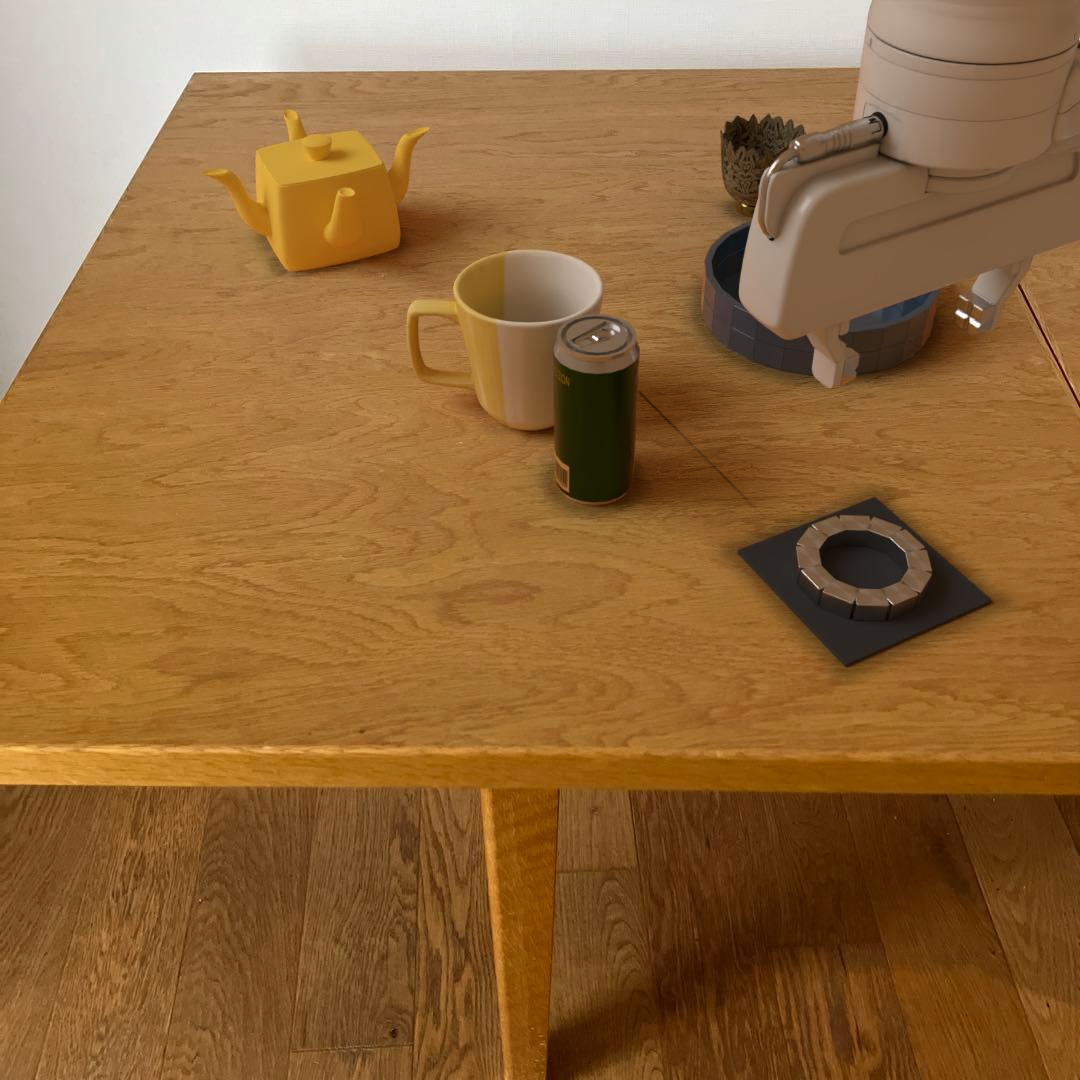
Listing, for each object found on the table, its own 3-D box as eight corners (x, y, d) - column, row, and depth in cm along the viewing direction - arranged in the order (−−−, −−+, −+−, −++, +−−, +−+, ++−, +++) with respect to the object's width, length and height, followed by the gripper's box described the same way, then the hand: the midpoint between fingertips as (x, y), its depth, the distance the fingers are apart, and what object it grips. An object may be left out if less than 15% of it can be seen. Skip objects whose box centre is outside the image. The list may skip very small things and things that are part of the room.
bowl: (834, 242, 106) (842, 195, 103) (978, 342, 94) (992, 292, 91) (658, 294, 100) (661, 246, 97) (788, 408, 88) (796, 356, 85)
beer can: (585, 521, 79) (587, 370, 71) (539, 479, 82) (535, 330, 74) (649, 490, 81) (658, 340, 73) (601, 451, 84) (605, 303, 76)
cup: (729, 189, 114) (737, 106, 108) (804, 204, 111) (816, 120, 106) (701, 223, 109) (708, 138, 103) (780, 239, 106) (791, 154, 101)
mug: (614, 380, 91) (618, 256, 84) (582, 462, 84) (583, 334, 77) (444, 355, 94) (434, 234, 87) (398, 432, 86) (383, 306, 79)
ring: (870, 516, 78) (874, 500, 77) (954, 593, 73) (959, 577, 72) (768, 555, 75) (771, 539, 74) (847, 638, 70) (851, 622, 69)
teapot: (219, 267, 104) (196, 161, 98) (297, 196, 114) (281, 95, 108) (370, 295, 101) (357, 187, 94) (437, 219, 110) (429, 116, 104)
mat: (873, 503, 80) (874, 496, 79) (990, 607, 73) (992, 600, 72) (736, 556, 76) (737, 549, 76) (844, 671, 69) (846, 664, 69)
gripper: (812, 175, 48) (778, 447, 57) (1176, 68, 55) (1092, 327, 64) (723, 120, 52) (705, 381, 62) (1071, 26, 59) (1007, 275, 68)
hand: (905, 352), depth 63 cm, fingers open, 8 cm apart
